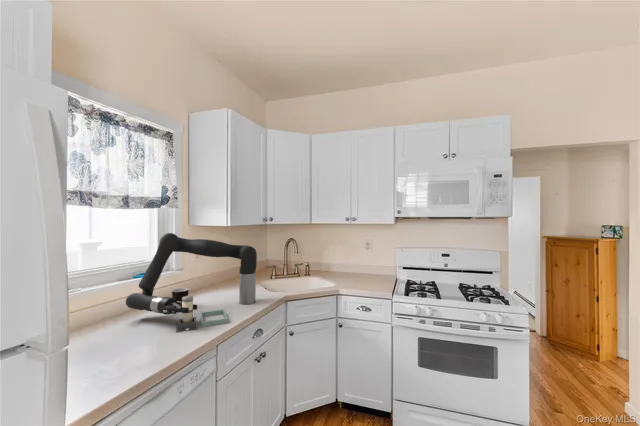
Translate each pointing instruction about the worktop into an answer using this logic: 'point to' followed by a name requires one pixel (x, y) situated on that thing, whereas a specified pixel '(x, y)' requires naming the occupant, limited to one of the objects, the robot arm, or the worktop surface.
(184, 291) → the coffee mug
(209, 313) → the parts tray
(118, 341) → the worktop surface
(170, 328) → the worktop surface
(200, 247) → the robot arm
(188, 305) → the cylinder
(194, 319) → the fuse holder
